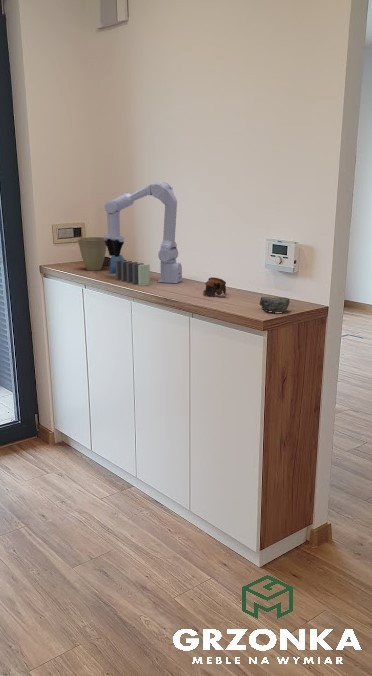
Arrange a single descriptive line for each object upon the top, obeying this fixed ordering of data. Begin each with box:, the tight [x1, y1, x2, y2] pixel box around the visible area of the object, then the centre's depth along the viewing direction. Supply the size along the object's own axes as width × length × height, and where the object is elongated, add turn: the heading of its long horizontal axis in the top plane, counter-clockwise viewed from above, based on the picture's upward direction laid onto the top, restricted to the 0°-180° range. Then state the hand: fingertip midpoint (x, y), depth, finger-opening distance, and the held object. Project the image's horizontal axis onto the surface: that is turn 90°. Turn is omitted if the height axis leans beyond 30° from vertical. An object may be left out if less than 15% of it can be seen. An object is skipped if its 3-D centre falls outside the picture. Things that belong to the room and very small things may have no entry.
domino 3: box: [126, 261, 138, 284], centre depth 268 cm, size 2×5×9 cm, turn 129°
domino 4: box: [132, 262, 145, 285], centre depth 265 cm, size 2×5×9 cm, turn 129°
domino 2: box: [120, 260, 133, 282], centre depth 271 cm, size 2×5×9 cm, turn 129°
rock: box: [259, 296, 291, 313], centre depth 213 cm, size 12×10×5 cm
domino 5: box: [138, 263, 151, 287], centre depth 261 cm, size 2×5×9 cm, turn 129°
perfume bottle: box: [109, 254, 125, 275], centre depth 294 cm, size 6×6×12 cm
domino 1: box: [115, 259, 127, 281], centre depth 275 cm, size 2×5×9 cm, turn 129°
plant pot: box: [77, 236, 107, 271], centre depth 303 cm, size 15×15×16 cm
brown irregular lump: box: [202, 276, 227, 297], centre depth 240 cm, size 12×10×8 cm
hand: (114, 256), depth 277 cm, fingers open, 4 cm apart
